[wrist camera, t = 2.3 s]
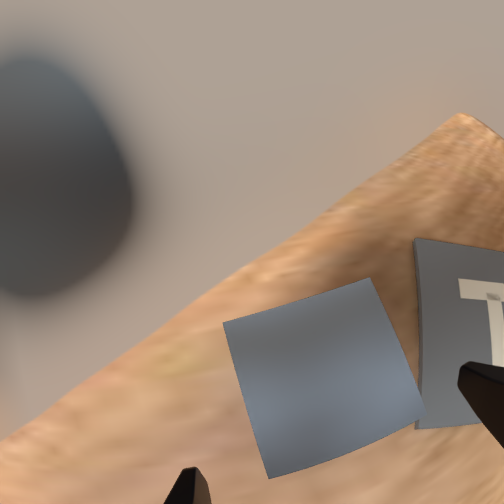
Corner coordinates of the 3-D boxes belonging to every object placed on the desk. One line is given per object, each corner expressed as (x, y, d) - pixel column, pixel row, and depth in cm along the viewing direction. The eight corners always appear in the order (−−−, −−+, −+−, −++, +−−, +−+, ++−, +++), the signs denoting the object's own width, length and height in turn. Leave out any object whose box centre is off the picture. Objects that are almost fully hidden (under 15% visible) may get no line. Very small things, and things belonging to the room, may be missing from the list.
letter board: (547, 408, 13) (552, 406, 12) (414, 429, 15) (419, 429, 14) (530, 260, 20) (534, 257, 19) (412, 242, 22) (415, 237, 21)
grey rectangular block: (351, 422, 16) (427, 414, 7) (271, 449, 15) (268, 479, 7) (325, 350, 18) (369, 277, 10) (248, 374, 18) (222, 322, 9)
